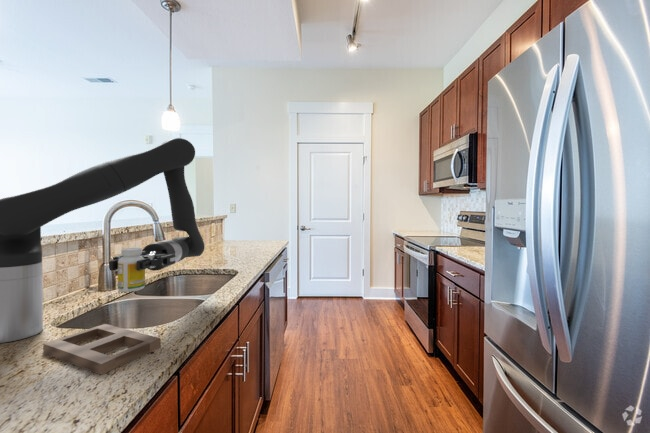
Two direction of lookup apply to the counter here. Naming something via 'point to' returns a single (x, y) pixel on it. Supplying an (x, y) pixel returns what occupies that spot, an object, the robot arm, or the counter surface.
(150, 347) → the brown flat two-opening frame
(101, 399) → the counter surface
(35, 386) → the counter surface
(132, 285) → the supplement bottle
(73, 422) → the counter surface
